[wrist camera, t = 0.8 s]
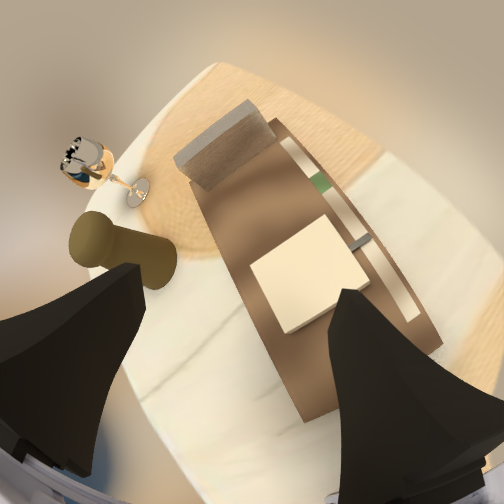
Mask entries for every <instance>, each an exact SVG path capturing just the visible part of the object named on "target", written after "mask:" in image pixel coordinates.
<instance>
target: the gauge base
mask: <svg viewBox="0 0 504 504" xmlns="http://www.w3.org/2000/svg"><path fill="white" fill-rule="evenodd" d="M267 124H268V125H269V127H270V128H271V130H272V131H273V133H274V134H275V136H276V138H277V139H278V141H276V142H275V143H273V144H272V145H270V146H269V147H268V148H266V149H265V150H263V151H262V152H261V153H259V154H258V155H256V156H255V157H254V158H252V159H251V160H249V161H248V162H247V163H245V164H244V165H243V166H241V167H240V168H239V169H237V170H236V171H235V172H233V173H232V174H231V175H229V176H228V177H227V178H225V179H224V180H223V181H221V182H220V183H219V184H218V185H216V186H215V187H214V188H212V189H211V190H210V191H209V192H207V191H206V190H204V189H203V188H202V187H200V186H199V185H198V184H197V183H195V182H194V181H193V180H192V181H190V182H189V184H190V186H191V188H192V191H193V193H194V195H195V198H196V200H197V202H198V204H199V207H200V209H201V211H202V213H203V216H204V218H205V220H206V222H207V225H208V227H209V229H210V231H211V233H212V236H213V238H214V240H215V242H216V244H217V247H218V249H219V251H220V253H221V255H222V258H223V260H224V262H225V264H226V266H227V268H228V271H229V273H230V275H231V277H232V279H233V281H234V283H235V285H236V288H237V290H238V292H239V294H240V296H241V298H242V300H243V302H244V304H245V306H246V309H247V311H248V313H249V315H250V317H251V319H252V321H253V323H254V325H255V327H256V329H257V331H258V333H259V335H260V337H261V339H262V341H263V343H264V345H265V347H266V349H267V351H268V353H269V356H270V358H271V360H272V361H273V363H274V365H275V367H276V369H277V371H278V373H279V375H280V377H281V379H282V381H283V383H284V385H285V387H286V389H287V391H288V393H289V395H290V397H291V399H292V401H293V403H294V405H295V406H296V408H297V410H298V412H299V414H300V416H301V418H302V420H303V422H304V423H306V422H308V421H311V420H313V419H315V418H318V417H320V416H322V415H324V414H327V413H329V412H331V411H333V410H335V409H337V408H339V403H338V397H337V392H336V387H335V382H334V377H333V372H332V367H331V362H330V357H329V348H328V333H327V330H328V328H329V325H330V322H331V319H332V316H333V313H334V311H335V308H336V307H334V308H333V309H331V310H329V311H328V312H326V313H325V314H323V315H321V316H320V317H318V318H316V319H315V320H313V321H311V322H310V323H308V324H306V325H305V326H303V327H301V328H300V329H298V330H296V331H294V332H293V333H286V334H285V333H284V331H283V329H282V327H281V325H280V323H279V321H278V319H277V317H276V316H275V314H274V312H273V310H272V308H271V306H270V304H269V302H268V300H267V298H266V296H265V294H264V292H263V290H262V288H261V286H260V284H259V283H258V281H257V279H256V277H255V275H254V273H253V271H252V269H251V267H250V265H251V264H253V263H254V262H255V261H257V260H258V259H260V258H261V257H263V256H264V255H266V254H267V253H269V252H270V251H272V250H273V249H275V248H276V247H278V246H279V245H280V244H282V243H283V242H285V241H286V240H288V239H289V238H291V237H292V236H294V235H295V234H297V233H298V232H299V231H301V230H302V229H304V228H305V227H307V226H308V225H310V224H311V223H313V222H314V221H315V220H317V219H318V218H320V217H321V216H323V215H324V214H325V215H326V217H327V218H328V219H329V221H330V222H331V224H332V225H333V226H334V228H335V229H336V231H337V232H338V233H339V235H340V236H341V238H342V239H343V241H344V242H345V244H346V245H347V247H348V246H349V245H350V244H352V243H353V242H355V241H356V240H358V239H359V238H360V237H362V236H363V235H365V234H366V233H369V234H370V236H371V237H372V239H371V240H369V241H368V242H366V243H365V244H364V245H362V246H361V247H359V248H358V249H356V250H355V251H353V252H352V254H353V255H354V257H355V258H356V260H357V261H358V263H359V265H360V266H361V268H362V269H363V271H364V272H365V274H366V275H367V277H368V278H369V280H370V284H369V285H368V286H366V287H365V288H363V289H362V290H360V292H361V293H362V294H363V295H364V296H365V297H366V298H367V299H368V300H369V301H370V302H371V303H372V304H373V305H374V306H375V307H376V308H377V309H378V310H379V311H380V312H381V313H382V314H383V315H384V316H385V317H386V318H387V319H388V320H389V321H390V322H391V323H392V324H393V325H394V326H395V327H396V328H397V329H398V330H399V331H400V332H401V333H402V334H403V335H404V336H405V337H406V338H407V339H409V340H410V341H411V342H412V343H413V344H414V345H415V346H416V347H417V348H419V349H420V350H421V351H422V352H423V353H425V354H426V355H429V354H430V353H432V352H433V351H434V350H436V349H437V348H438V347H440V346H441V345H442V344H443V342H442V340H441V338H440V336H439V334H438V332H437V331H436V329H435V327H434V325H433V323H432V322H431V320H430V318H429V316H428V315H427V313H426V311H425V309H424V308H423V306H422V304H421V303H420V301H419V299H418V298H417V296H416V294H415V293H414V291H413V289H412V288H411V286H410V285H409V283H408V282H407V280H406V278H405V277H404V275H403V274H402V272H401V271H400V269H399V268H398V266H397V265H396V263H395V262H394V260H393V259H392V257H391V256H390V254H389V253H388V251H387V250H386V249H385V247H384V246H383V244H382V243H381V241H380V240H379V239H378V237H377V236H376V234H375V233H374V232H373V230H372V229H371V228H370V226H369V225H368V224H367V222H366V221H365V220H364V218H363V217H362V216H361V214H360V213H359V212H358V210H357V209H356V208H355V207H354V205H353V204H352V203H351V201H350V200H349V199H348V198H347V196H346V195H345V194H344V193H343V191H342V190H341V189H340V188H339V187H338V185H337V184H336V183H335V182H334V181H333V179H332V178H331V177H330V176H329V175H328V173H327V172H326V171H325V170H324V169H323V168H322V166H321V165H320V164H319V163H318V162H317V161H316V160H315V159H314V157H313V156H312V155H311V154H310V153H309V152H308V151H307V150H306V148H305V147H304V146H303V145H302V144H301V143H300V142H299V141H298V140H297V139H296V138H295V137H294V136H293V135H292V133H291V132H290V131H289V130H288V129H287V128H286V127H285V126H284V125H283V124H282V123H281V122H280V121H279V120H278V119H277V118H274V119H273V120H271V121H270V122H269V123H267Z"/></svg>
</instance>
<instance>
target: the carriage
mask: <svg viewBox="0 0 504 504" xmlns="http://www.w3.org/2000/svg"><path fill="white" fill-rule="evenodd" d="M371 239H372V237H371V236H370V234H369V233H366V234H365V235H363V236H362V237H360V238H359V239H358V240H356V241H355V242H353V243H352V244H350V245H349V246H348V247H347V245H346V244H345V242H344V241H343V239H342V238H341V236H340V235H339V233H338V232H337V231H336V229H335V228H334V226H333V225H332V224H331V222H330V221H329V219H328V218H327V217H326V215H325V214H324V215H323V216H321V217H320V218H318V219H317V220H315V221H314V222H313V223H311V224H310V225H308V226H307V227H305V228H304V229H302V230H301V231H299V232H298V233H297V234H295V235H294V236H292V237H291V238H289V239H288V240H286V241H285V242H283V243H282V244H280V245H279V246H278V247H276V248H275V249H273V250H272V251H270V252H269V253H267V254H266V255H264V256H263V257H261V258H260V259H258V260H257V261H255V262H254V263H253V264H251V265H250V267H251V269H252V271H253V273H254V275H255V277H256V279H257V281H258V283H259V284H260V286H261V288H262V290H263V292H264V294H265V296H266V298H267V300H268V302H269V304H270V306H271V308H272V310H273V312H274V314H275V316H276V317H277V319H278V321H279V323H280V325H281V327H282V329H283V331H284V333H285V334H286V333H293V332H294V331H296V330H298V329H300V328H301V327H303V326H305V325H306V324H308V323H310V322H311V321H313V320H315V319H316V318H318V317H320V316H321V315H323V314H325V313H326V312H328V311H329V310H331V309H333V308H334V307H336V305H337V302H338V299H339V295H340V292H341V289H342V288H345V289H356V290H359V291H360V290H362V289H363V288H365V287H366V286H368V285H369V284H370V280H369V278H368V277H367V275H366V274H365V272H364V271H363V269H362V268H361V266H360V265H359V263H358V261H357V260H356V258H355V257H354V255H353V254H352V252H353V251H355V250H356V249H358V248H359V247H361V246H362V245H364V244H365V243H366V242H368V241H369V240H371Z"/></svg>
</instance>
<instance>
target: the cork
mask: <svg viewBox="0 0 504 504" xmlns="http://www.w3.org/2000/svg"><path fill="white" fill-rule="evenodd" d="M69 252H70V255H71V257H72V258H73V260H74V261H75V262H76V263H78V264H79V265H81V266H83V267H87V268H93V267H98V266H102V267H104V268H106V269H108V270H110V269H112V268H114V267H116V266H118V265H120V264H123V263H125V262H127V263H134V264H140V269H141V277H142V284H143V286H145V287H147V288H150V289H152V290H154V289H160V288H162V287H164V286H165V285H166V284H167V283H168V282H169V281H170V279H171V277H172V276H173V274H174V271H175V268H176V263H177V253H176V248H175V247H174V245H173V243H172V242H171V241H170V240H168V239H166V238H162V237H158V236H154V235H150V234H146V233H143V232H139V231H135V230H131V229H127V228H124V227H120V226H116V225H113V223H112V221H111V220H110V219H109V218H108V217H107V216H106V215H105V214H103V213H101V212H96V211H89V212H85V213H83V214H82V215H81V216H80V217H79V218H78V219H77V221H76V222H75V224H74V226H73V228H72V231H71V234H70V238H69Z"/></svg>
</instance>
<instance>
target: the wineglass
mask: <svg viewBox="0 0 504 504" xmlns="http://www.w3.org/2000/svg"><path fill="white" fill-rule="evenodd" d="M113 167H114V157H113V155H112V153H111V151H110V150H109V149H108V148H107V147H106V146H104V145H103V144H101V143H99V142H97V141H94V140H92V139H89V138H86V137H82V136H79V137H77V138H76V139H75V140H74V141H73V142H72V143H71V145H70V146H69V147H68V149H67V151H66V152H65V154H64V156H63V159H62V162H61V165H60V170H61V171H62V172H63V173H64V174H65V175H66V176H67V177H68V178H69V179H70V180H71V181H72V182H74V183H75V184H77V185H78V186H80V187H82V188H85V189H97V188H99V187H101V186H102V185H103V184H104V183H105V182H106V181H107V180H108V179H109V180H110V181H111V182H113V183H117V184H120V185H122V186H124V187H126V188H127V189H129V190H130V191H129V193H128V197H127V203H128V205H129V206H130V207H136V206H138V205H140V204H141V203H142V202H143V200H144V199H145V197H146V195H147V193H148V190H149V181H148V180H147V179H145V178H141V179H139V180H138V181H136V182H135V183H134V184H133V186H132V187H131V186H129V185H127V184H126V183H124V182H123V181H121V180H120V179H119V177H118V176H116V175H114V174H111V173H112V171H113Z"/></svg>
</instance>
